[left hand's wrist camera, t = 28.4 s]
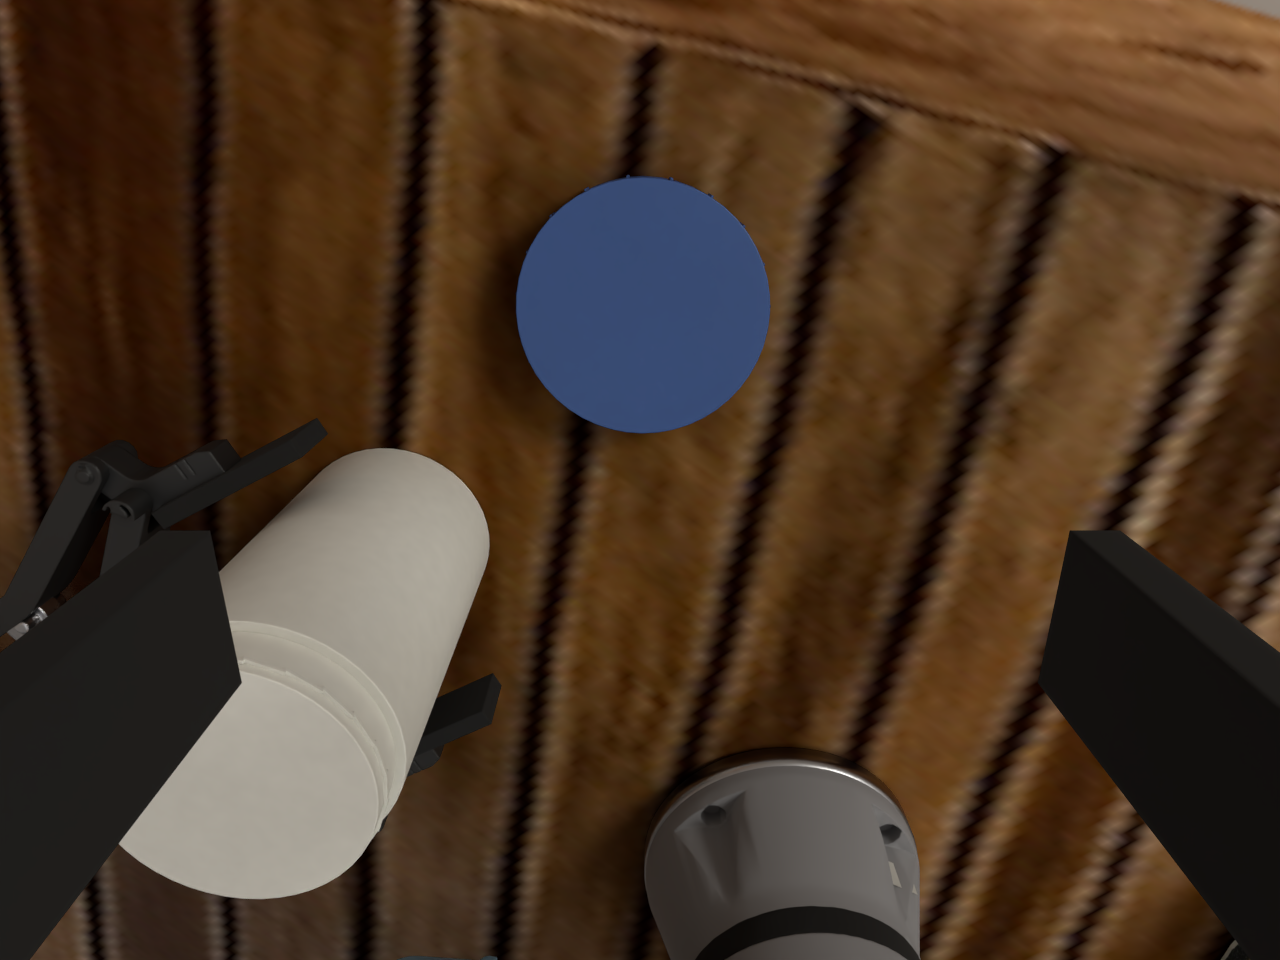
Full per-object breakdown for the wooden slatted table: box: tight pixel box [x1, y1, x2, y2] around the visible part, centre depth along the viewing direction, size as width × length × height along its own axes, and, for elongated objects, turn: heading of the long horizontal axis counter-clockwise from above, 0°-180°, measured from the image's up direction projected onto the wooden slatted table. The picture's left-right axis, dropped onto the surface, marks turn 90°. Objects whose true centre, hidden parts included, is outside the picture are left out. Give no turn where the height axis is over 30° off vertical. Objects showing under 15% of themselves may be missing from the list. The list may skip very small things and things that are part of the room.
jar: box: [119, 448, 489, 899], centre depth 32 cm, size 9×9×17 cm
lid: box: [516, 175, 770, 433], centre depth 35 cm, size 11×11×2 cm
